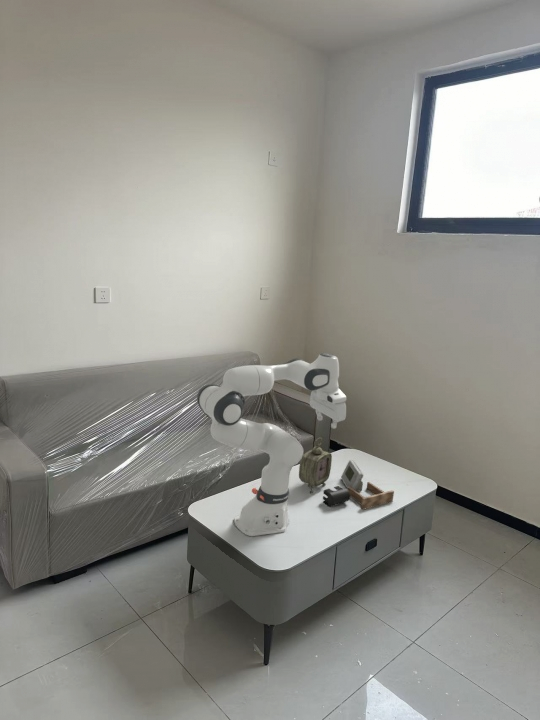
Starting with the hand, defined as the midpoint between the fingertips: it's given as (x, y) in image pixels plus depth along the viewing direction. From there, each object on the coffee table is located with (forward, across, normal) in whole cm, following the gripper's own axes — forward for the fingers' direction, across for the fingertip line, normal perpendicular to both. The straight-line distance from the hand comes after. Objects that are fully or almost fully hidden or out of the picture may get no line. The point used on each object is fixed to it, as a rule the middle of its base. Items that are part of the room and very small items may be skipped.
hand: (326, 423), depth 207 cm
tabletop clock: (+40, -16, +5) cm, 43 cm away
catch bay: (+41, +2, +23) cm, 47 cm away
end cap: (+40, 0, +6) cm, 40 cm away
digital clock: (+42, -10, +23) cm, 49 cm away
